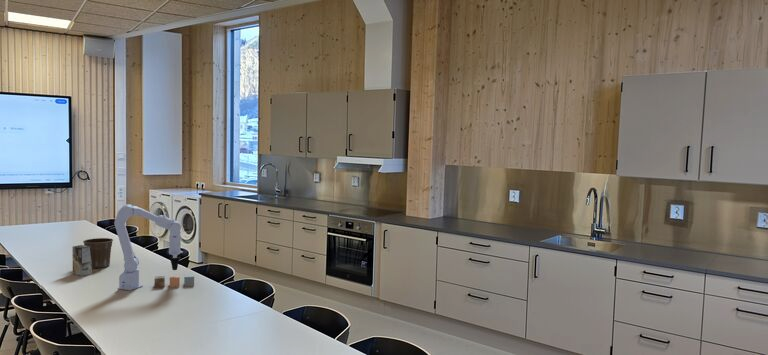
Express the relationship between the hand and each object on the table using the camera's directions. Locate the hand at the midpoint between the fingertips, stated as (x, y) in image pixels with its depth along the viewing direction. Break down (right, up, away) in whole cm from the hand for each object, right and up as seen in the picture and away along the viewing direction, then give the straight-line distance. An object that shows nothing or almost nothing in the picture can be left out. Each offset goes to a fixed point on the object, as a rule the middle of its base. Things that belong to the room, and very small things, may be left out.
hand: (174, 268), depth 299 cm
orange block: (0, -9, +1) cm, 9 cm away
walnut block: (-7, -9, -2) cm, 12 cm away
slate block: (+7, -10, +3) cm, 12 cm away
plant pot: (-61, -5, +37) cm, 71 cm away
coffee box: (-60, -6, +18) cm, 63 cm away
